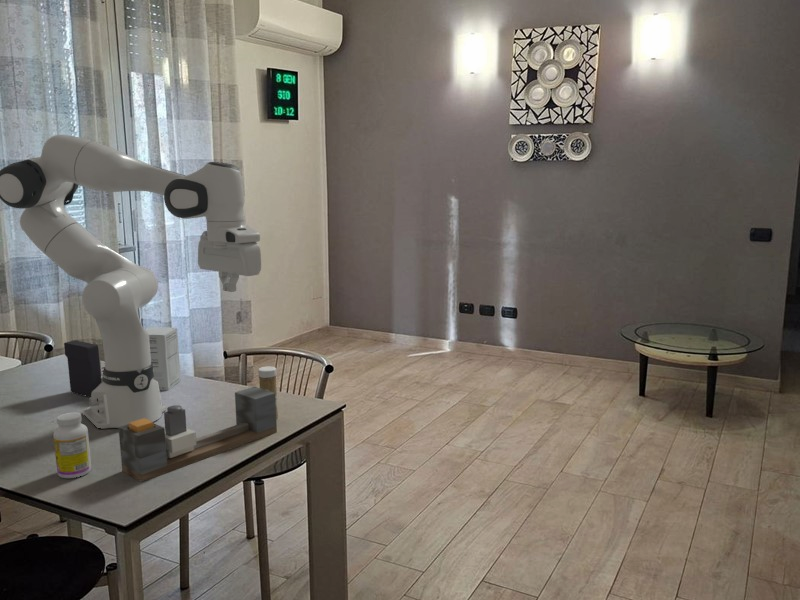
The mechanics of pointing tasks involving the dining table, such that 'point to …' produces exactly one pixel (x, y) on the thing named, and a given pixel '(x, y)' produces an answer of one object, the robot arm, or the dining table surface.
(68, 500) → the dining table surface
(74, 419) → the supplement bottle
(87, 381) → the black rectangular box
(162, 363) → the supplement box
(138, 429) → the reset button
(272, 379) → the sprinkles bottle
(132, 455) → the rail frame
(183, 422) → the carriage
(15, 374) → the dining table surface
